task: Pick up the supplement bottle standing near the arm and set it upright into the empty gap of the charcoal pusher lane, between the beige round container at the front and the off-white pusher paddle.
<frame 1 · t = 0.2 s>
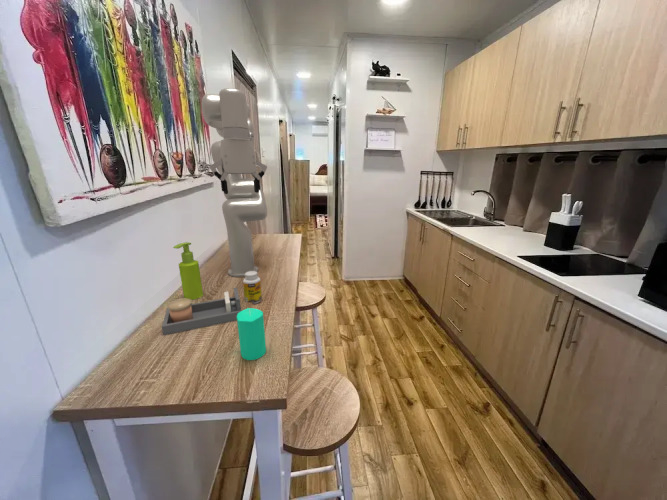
hand: (241, 193, 88), 36 cm above the table, tool pointing down, fingers open, 9 cm apart
pusher lane: (205, 320, 82), on the table
pusher paddle: (227, 304, 83), point 4 cm above the table, slide at 0.0 cm
beige round container: (182, 321, 79), point 1 cm above the table, touching pusher lane
candle: (253, 352, 68), on the table
soap dispenser: (193, 299, 95), on the table
supplement bottle: (253, 301, 94), on the table
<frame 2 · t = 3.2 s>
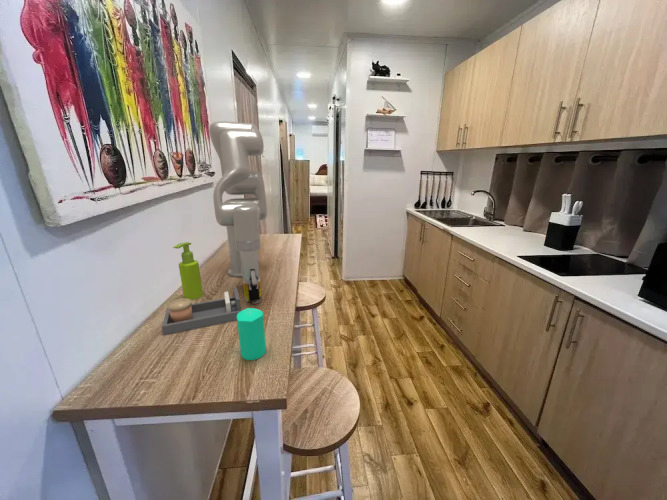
hand: (253, 295, 93), 2 cm above the table, tool pointing down, fingers closed on supplement bottle, 5 cm apart
supplement bottle: (253, 301, 94), on the table, touching gripper
everything else where it was.
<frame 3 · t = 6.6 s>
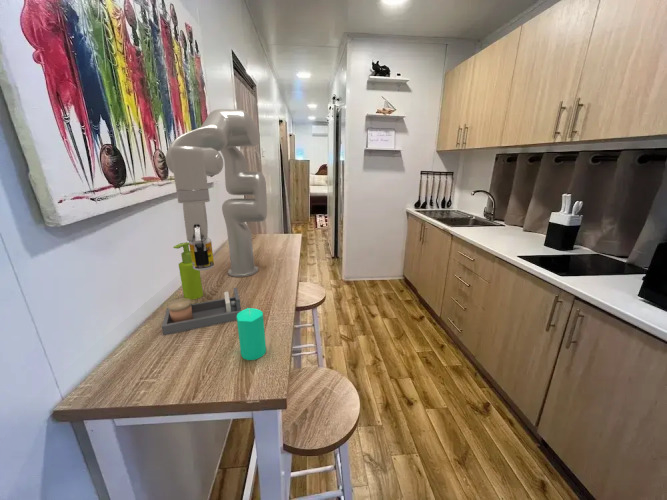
hand: (202, 260, 77), 18 cm above the table, tool pointing down, fingers closed on supplement bottle, 5 cm apart
supplement bottle: (204, 268, 78), point 16 cm above the table, touching gripper
everything else where it was.
when the fingers open (4 cm above the table, at t = 9.8 s): supplement bottle drops 1 cm, resting on pusher lane.
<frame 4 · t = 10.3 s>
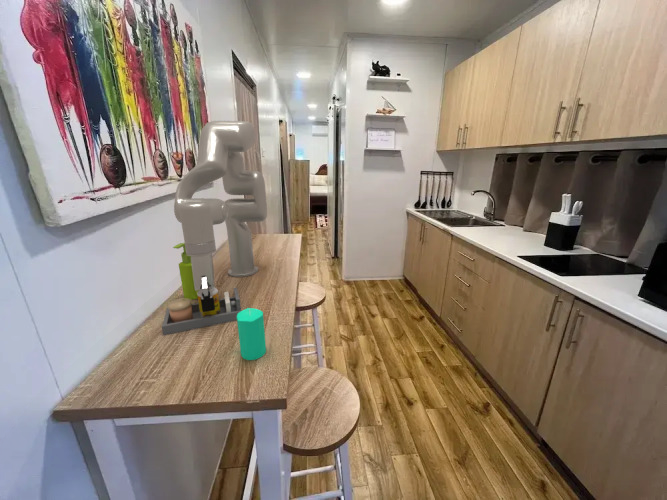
hand: (208, 303, 81), 5 cm above the table, tool pointing down, fingers open, 9 cm apart
supplement bottle: (211, 316, 83), point 1 cm above the table, touching pusher lane
everything else where it was.
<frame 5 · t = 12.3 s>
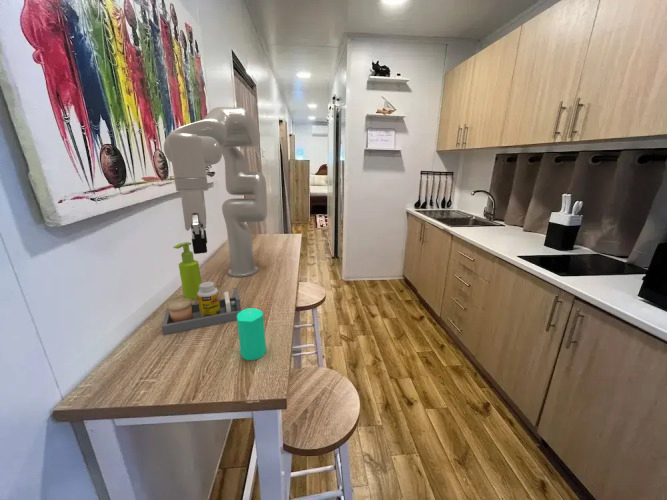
hand: (201, 248, 76), 22 cm above the table, tool pointing down, fingers open, 9 cm apart
nothing on the table moved.
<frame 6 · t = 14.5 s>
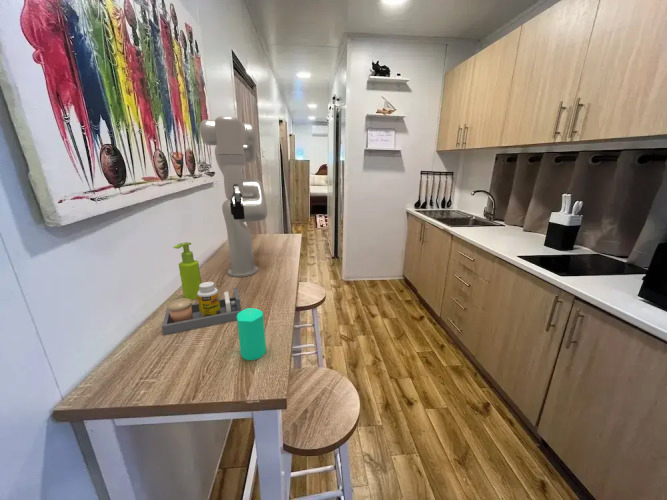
hand: (237, 216, 89), 28 cm above the table, tool pointing down, fingers open, 9 cm apart
nothing on the table moved.
at the end: supplement bottle 0.3 cm from the target spot on the pusher lane, point 0.8 cm above the pusher lane's base; supplement bottle tilted 0°; the gripper is holding nothing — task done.
